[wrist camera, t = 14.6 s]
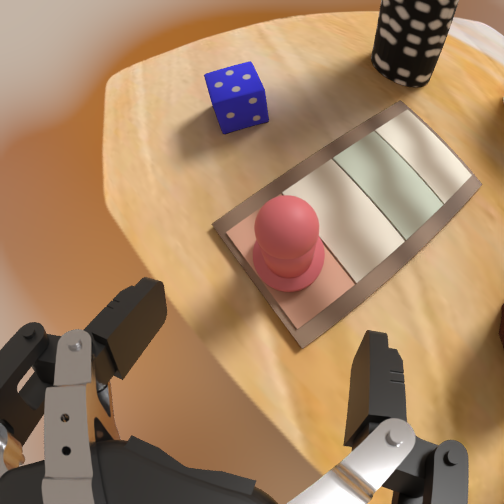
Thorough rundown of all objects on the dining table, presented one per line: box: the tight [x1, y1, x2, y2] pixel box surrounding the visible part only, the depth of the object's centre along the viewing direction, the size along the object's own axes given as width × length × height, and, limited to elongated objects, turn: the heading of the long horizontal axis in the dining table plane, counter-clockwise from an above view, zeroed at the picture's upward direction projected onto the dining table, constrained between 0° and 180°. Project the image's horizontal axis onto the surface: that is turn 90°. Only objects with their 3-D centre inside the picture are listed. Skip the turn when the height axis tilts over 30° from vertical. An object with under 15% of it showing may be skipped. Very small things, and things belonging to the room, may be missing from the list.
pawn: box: [253, 195, 325, 292], centre depth 20 cm, size 6×6×9 cm
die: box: [204, 62, 269, 134], centre depth 28 cm, size 5×5×5 cm
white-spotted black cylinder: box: [371, 0, 459, 87], centre depth 20 cm, size 8×8×20 cm
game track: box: [212, 100, 482, 349], centre depth 25 cm, size 25×13×1 cm, turn 125°
